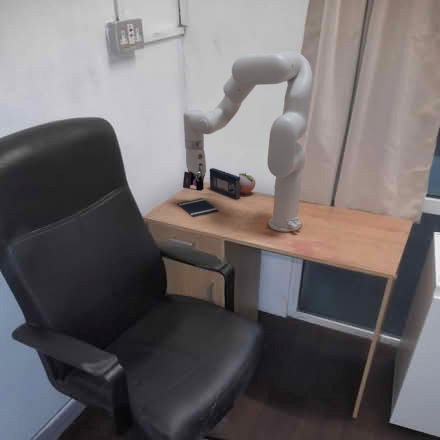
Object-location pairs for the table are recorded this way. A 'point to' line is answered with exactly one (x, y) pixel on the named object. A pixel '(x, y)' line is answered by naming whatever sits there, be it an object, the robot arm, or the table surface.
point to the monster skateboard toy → (189, 180)
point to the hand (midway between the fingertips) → (196, 187)
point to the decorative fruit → (246, 183)
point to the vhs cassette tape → (225, 183)
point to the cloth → (197, 207)
